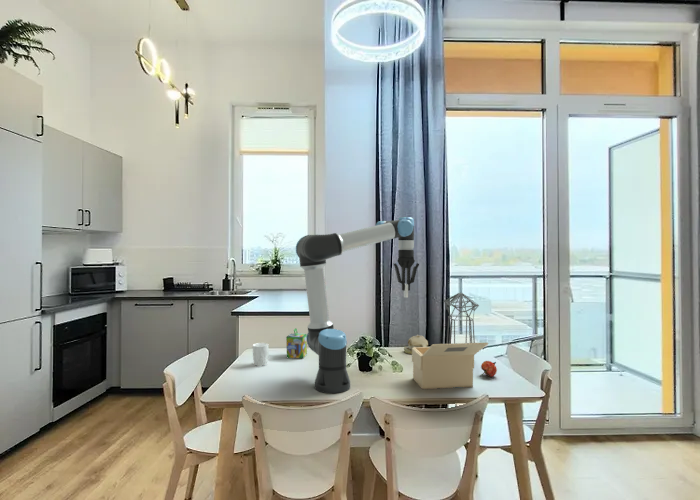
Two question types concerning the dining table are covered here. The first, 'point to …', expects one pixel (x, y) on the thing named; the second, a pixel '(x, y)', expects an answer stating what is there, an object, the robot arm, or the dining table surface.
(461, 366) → the carton
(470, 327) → the geometric lantern
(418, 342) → the ceramic model
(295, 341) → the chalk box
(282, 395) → the dining table surface
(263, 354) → the white cup
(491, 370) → the pomegranate
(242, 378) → the dining table surface
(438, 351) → the lid flap
